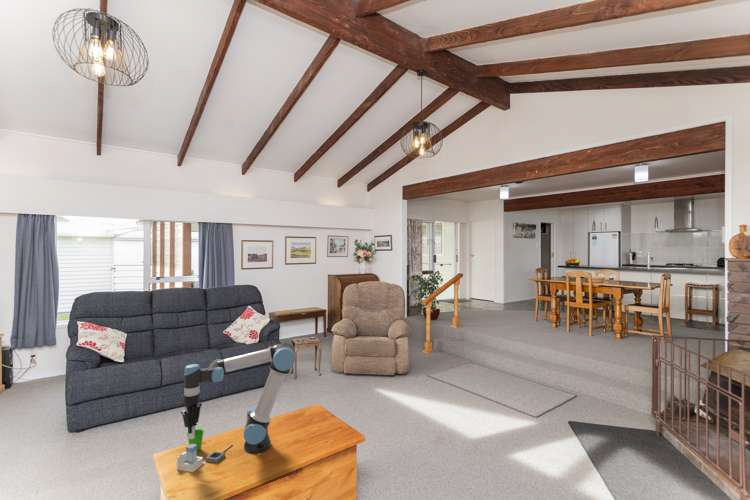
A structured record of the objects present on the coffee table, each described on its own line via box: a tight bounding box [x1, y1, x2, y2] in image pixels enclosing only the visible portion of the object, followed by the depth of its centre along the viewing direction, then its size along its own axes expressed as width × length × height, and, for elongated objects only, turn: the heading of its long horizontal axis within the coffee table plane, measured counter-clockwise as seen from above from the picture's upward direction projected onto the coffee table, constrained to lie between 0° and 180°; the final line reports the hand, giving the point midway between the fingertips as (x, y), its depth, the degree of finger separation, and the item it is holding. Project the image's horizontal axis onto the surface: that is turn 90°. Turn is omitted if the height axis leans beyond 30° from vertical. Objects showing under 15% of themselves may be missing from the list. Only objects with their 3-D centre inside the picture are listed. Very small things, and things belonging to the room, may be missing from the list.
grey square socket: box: [205, 450, 226, 464], centre depth 210 cm, size 7×7×3 cm
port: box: [176, 450, 206, 473], centre depth 204 cm, size 10×10×8 cm
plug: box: [185, 444, 198, 464], centre depth 204 cm, size 4×4×10 cm
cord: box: [222, 444, 234, 454], centre depth 220 cm, size 1×12×1 cm, turn 165°
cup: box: [186, 428, 205, 453], centre depth 219 cm, size 9×9×11 cm
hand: (191, 438), depth 204 cm, fingers closed
